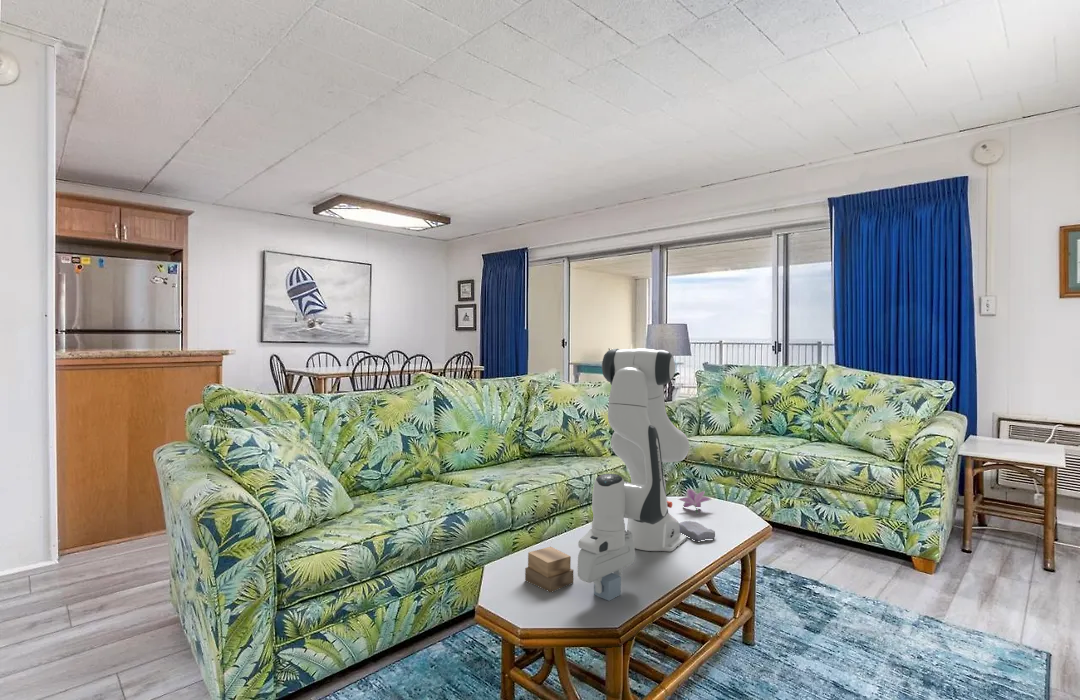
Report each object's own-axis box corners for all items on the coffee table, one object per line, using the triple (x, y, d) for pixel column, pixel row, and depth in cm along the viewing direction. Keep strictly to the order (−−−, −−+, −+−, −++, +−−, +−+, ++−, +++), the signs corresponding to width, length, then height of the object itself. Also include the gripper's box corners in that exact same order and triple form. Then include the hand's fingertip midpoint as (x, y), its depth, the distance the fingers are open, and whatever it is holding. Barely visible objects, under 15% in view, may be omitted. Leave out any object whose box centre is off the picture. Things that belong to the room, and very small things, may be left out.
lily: (716, 515, 225) (710, 491, 230) (708, 510, 216) (703, 485, 221) (686, 520, 230) (682, 496, 235) (678, 515, 221) (673, 491, 225)
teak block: (550, 560, 163) (550, 546, 163) (570, 570, 156) (570, 556, 156) (528, 566, 158) (528, 552, 158) (547, 577, 151) (547, 562, 151)
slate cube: (605, 588, 153) (606, 570, 153) (620, 595, 149) (620, 576, 149) (593, 594, 149) (594, 575, 149) (608, 600, 146) (609, 581, 146)
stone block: (697, 534, 204) (674, 531, 201) (699, 521, 204) (677, 518, 201) (718, 546, 193) (694, 544, 189) (721, 533, 193) (697, 530, 190)
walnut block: (547, 573, 164) (547, 559, 164) (573, 584, 157) (573, 569, 157) (525, 582, 157) (525, 567, 157) (550, 593, 150) (550, 578, 150)
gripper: (622, 525, 159) (621, 574, 159) (573, 542, 144) (573, 596, 145) (641, 531, 154) (640, 581, 154) (592, 549, 140) (591, 604, 140)
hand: (607, 588), depth 149 cm, fingers closed on slate cube, 5 cm apart
